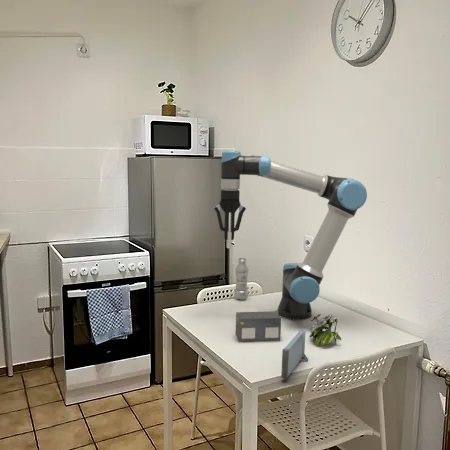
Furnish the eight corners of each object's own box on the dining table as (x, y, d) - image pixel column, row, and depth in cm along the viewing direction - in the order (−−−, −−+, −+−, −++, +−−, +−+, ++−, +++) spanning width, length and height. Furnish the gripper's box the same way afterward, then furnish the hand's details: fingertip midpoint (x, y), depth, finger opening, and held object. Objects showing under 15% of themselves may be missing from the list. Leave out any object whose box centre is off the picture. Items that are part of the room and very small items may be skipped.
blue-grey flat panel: (298, 353, 173) (299, 329, 171) (305, 355, 172) (306, 330, 170) (279, 377, 154) (281, 350, 153) (287, 379, 153) (288, 351, 152)
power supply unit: (275, 333, 195) (276, 311, 194) (280, 341, 187) (281, 318, 186) (235, 334, 193) (236, 312, 192) (239, 342, 185) (239, 319, 183)
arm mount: (304, 356, 173) (304, 354, 173) (307, 361, 170) (308, 358, 169) (293, 356, 173) (293, 354, 173) (296, 361, 169) (296, 359, 169)
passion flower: (314, 353, 192) (316, 320, 198) (345, 354, 186) (346, 319, 192) (303, 344, 182) (305, 309, 188) (336, 344, 176) (337, 308, 182)
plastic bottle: (238, 301, 235) (239, 260, 232) (232, 298, 241) (233, 258, 238) (250, 300, 238) (251, 259, 235) (243, 296, 244) (244, 257, 241)
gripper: (244, 189, 201) (242, 245, 204) (212, 188, 199) (211, 246, 202) (248, 190, 193) (246, 249, 197) (215, 190, 191) (214, 249, 195)
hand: (228, 247), depth 199 cm, fingers closed
